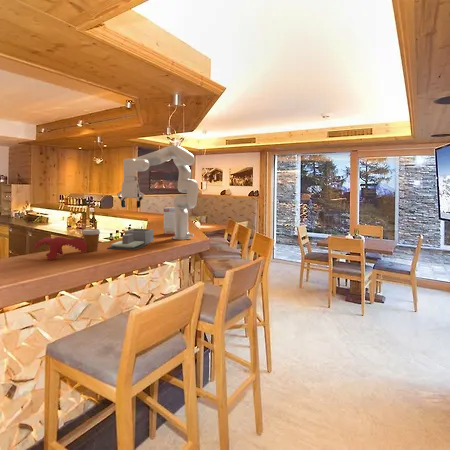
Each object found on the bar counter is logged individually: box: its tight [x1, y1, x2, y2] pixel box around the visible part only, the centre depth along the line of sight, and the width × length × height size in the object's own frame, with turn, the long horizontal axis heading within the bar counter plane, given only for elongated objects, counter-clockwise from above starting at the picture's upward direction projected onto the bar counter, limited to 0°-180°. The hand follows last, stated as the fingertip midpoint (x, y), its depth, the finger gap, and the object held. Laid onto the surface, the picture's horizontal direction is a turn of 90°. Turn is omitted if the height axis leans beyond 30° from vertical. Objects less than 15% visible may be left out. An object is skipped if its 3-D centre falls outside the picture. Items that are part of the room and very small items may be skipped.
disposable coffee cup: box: [81, 228, 101, 253], centre depth 188 cm, size 10×10×12 cm
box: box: [124, 227, 154, 245], centre depth 219 cm, size 14×14×8 cm
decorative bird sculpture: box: [32, 236, 87, 261], centre depth 169 cm, size 28×9×15 cm
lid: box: [110, 233, 144, 248], centre depth 203 cm, size 15×15×7 cm
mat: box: [106, 243, 149, 251], centre depth 203 cm, size 18×18×1 cm
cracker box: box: [163, 206, 175, 236], centre depth 257 cm, size 14×6×21 cm, turn 84°
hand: (130, 207), depth 203 cm, fingers open, 9 cm apart
